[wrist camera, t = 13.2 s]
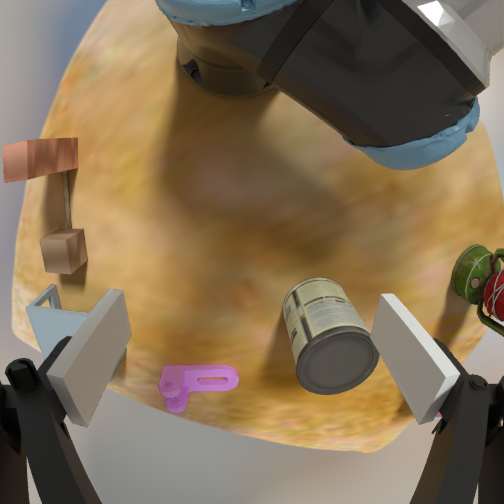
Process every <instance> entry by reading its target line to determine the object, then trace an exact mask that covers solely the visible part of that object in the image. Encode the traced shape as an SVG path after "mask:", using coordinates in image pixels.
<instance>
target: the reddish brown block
mask: <svg viewBox="0 0 504 504" xmlns="http://www.w3.org/2000/svg"><path fill="white" fill-rule="evenodd" d="M3 168H4V182H5V183H8V182H14V181H21V180H28V179H32V178H36V177H40V176H44V175H48V174H53V173H57V172H62V171H63V185H64V199H65V210H66V220H67V228H68V229H58V230H56V231H54V232H53V233H51V234H49V235H47V236H46V237H44V238H42V239H41V240H40V244H41V250H42V256H43V261H44V266H45V271H46V272H49V273H61V274H72V273H73V272H74V271H76V270H77V269H78V268H79V267H80V266H81V265H83V264H84V263H85V262H86V261H87V260H88V258H87V251H86V244H85V236H84V229H72V227H71V218H70V207H69V195H68V179H67V170H71V169H76V168H78V138H54V139H36V140H26V141H21V142H17V143H13V144H9V145H6V146H3Z"/></svg>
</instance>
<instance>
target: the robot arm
mask: <svg viewBox="0 0 504 504" xmlns="http://www.w3.org/2000/svg"><path fill="white" fill-rule="evenodd" d="M155 1H156V4H157V6H158V7H159V9H160V11H162V12H163V14H164V15H166V16H167V18H168V20H169V21H170V23H171V24H172V26H173V27H174V29H175V30H176V32H177V34H178V35H179V36H178V40H177V55H178V59H179V62H180V65H181V67H182V69H183V70H184V72H185V73H186V75H187V76H188V77H189V79H190V80H191V81H192V82H193V83H194V84H195V85H197V86H198V87H199V88H201V89H202V90H204V91H206V92H208V93H210V94H213V95H215V96H219V97H223V98H232V99H240V98H248V97H253V96H257V95H259V94H262V93H264V92H266V91H268V90H270V89H272V88H273V87H275V88H277V89H278V90H280V91H281V92H283V93H284V94H286V95H287V96H289V97H290V98H292V99H293V100H295V101H296V102H298V103H299V104H301V105H302V106H303V107H305V108H306V109H308V110H309V111H310V112H312V113H313V114H315V115H316V116H317V117H319V118H320V119H321V120H323V121H324V122H325V123H327V124H328V125H329V126H331V127H332V128H333V129H335V130H336V131H337V132H338V133H340V134H341V135H342V136H343V139H344V140H345V141H346V142H347V143H348V144H350V145H351V146H353V147H355V148H357V149H359V150H361V151H362V152H364V153H365V154H366V155H368V156H369V157H370V158H371V159H373V160H374V161H375V162H376V163H378V164H380V165H382V166H385V167H388V168H390V169H395V170H413V169H418V168H422V167H425V166H428V165H430V164H433V163H435V162H437V161H439V160H441V159H443V158H445V157H446V156H448V155H450V154H451V153H452V152H454V151H455V150H456V149H457V148H459V147H460V146H461V145H462V144H463V143H464V142H465V141H466V140H467V136H466V133H468V132H472V131H473V130H474V129H475V127H476V125H477V123H478V120H479V114H480V107H479V103H478V98H477V95H478V94H479V93H481V92H482V91H483V90H484V89H486V88H487V87H488V86H489V83H490V62H491V58H492V56H494V55H495V54H496V53H498V52H499V51H500V50H501V49H503V48H504V0H155ZM131 335H132V333H131V328H130V323H129V318H128V313H127V307H126V302H125V296H124V290H120V289H110V290H109V291H108V292H107V293H106V295H105V296H104V297H103V298H102V300H101V301H100V302H99V303H98V305H97V306H96V307H95V308H94V310H93V311H92V312H91V313H90V315H89V316H88V317H87V319H86V320H85V321H84V322H83V324H82V325H81V326H80V328H79V329H78V330H77V332H76V333H75V334H74V336H73V337H72V336H66V337H65V338H63V339H62V340H60V341H59V342H58V343H57V345H56V346H55V347H54V349H53V350H52V351H51V353H50V354H49V356H48V357H47V358H46V359H45V361H44V362H43V363H42V365H41V366H40V367H39V369H38V370H36V368H35V366H34V364H33V362H32V361H31V360H30V359H26V358H21V359H17V360H14V361H13V362H11V363H10V364H9V365H8V366H7V368H6V371H5V374H6V376H7V378H8V380H9V382H10V384H11V385H2V383H1V381H0V504H30V503H29V493H28V481H27V459H28V463H29V466H30V469H31V473H32V476H33V479H34V482H35V485H36V488H37V491H38V494H39V497H40V499H41V502H42V504H102V503H101V501H100V499H99V497H98V495H97V493H96V491H95V490H94V488H93V486H92V484H91V482H90V480H89V478H88V476H87V474H86V472H85V470H84V468H83V465H82V463H81V461H80V459H79V456H78V454H77V452H76V450H75V447H74V445H73V442H72V440H71V437H70V435H69V432H68V429H67V427H66V424H65V423H64V421H63V420H64V418H65V416H66V414H67V416H68V417H69V419H70V421H71V422H72V423H73V424H77V425H80V426H84V427H88V425H89V423H90V420H91V419H92V416H93V414H94V412H95V410H96V407H97V405H98V403H99V401H100V398H101V396H102V394H103V392H104V390H105V388H106V386H107V384H108V381H109V379H110V377H111V375H112V373H113V371H114V369H115V367H116V365H117V363H118V361H119V359H120V357H121V355H122V353H123V351H124V349H125V347H126V345H127V343H128V341H129V339H130V337H131ZM370 338H371V340H372V342H373V343H374V345H375V347H376V348H377V350H378V352H379V354H380V355H381V357H382V359H383V361H384V362H385V364H386V366H387V368H388V369H389V371H390V373H391V375H392V376H393V378H394V380H395V382H396V383H397V385H398V387H399V389H400V391H401V393H402V394H403V396H404V398H405V400H406V402H407V404H408V405H409V407H410V409H411V411H412V413H413V415H414V417H415V419H416V421H417V422H418V424H419V425H420V424H423V423H427V422H430V421H433V420H434V418H435V416H436V415H437V413H438V412H440V414H441V416H442V418H441V419H440V421H439V422H438V424H437V425H436V427H435V428H434V430H433V431H432V434H434V432H435V431H436V434H435V437H434V440H433V444H432V447H431V450H430V453H429V456H428V459H427V462H426V464H425V467H424V470H423V473H422V476H421V478H420V480H419V483H418V485H417V488H416V490H415V492H414V495H413V497H412V499H411V502H410V504H473V500H474V497H475V493H476V489H477V485H478V488H479V489H478V504H504V376H503V377H502V378H501V380H500V382H499V383H498V384H488V383H487V382H486V380H485V379H484V378H482V377H481V376H478V375H473V374H472V375H469V374H468V373H467V372H466V370H465V369H464V368H463V366H462V365H461V364H460V363H459V362H458V360H457V359H456V358H455V357H454V355H453V354H452V353H451V352H449V349H448V348H447V347H446V346H445V345H444V344H443V343H442V342H440V341H439V340H437V339H436V338H434V339H432V338H431V336H430V335H429V334H428V333H427V332H426V331H425V329H424V328H423V327H422V326H421V325H420V323H419V322H418V321H417V320H416V319H415V318H414V316H413V315H412V314H411V313H410V312H409V311H408V310H407V308H406V307H405V306H404V305H403V304H402V303H401V302H400V301H399V299H398V298H397V297H396V296H395V295H394V294H381V296H380V300H379V304H378V308H377V312H376V316H375V320H374V324H373V327H372V331H371V335H370ZM502 419H503V426H501V423H500V422H501V420H502Z"/></svg>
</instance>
